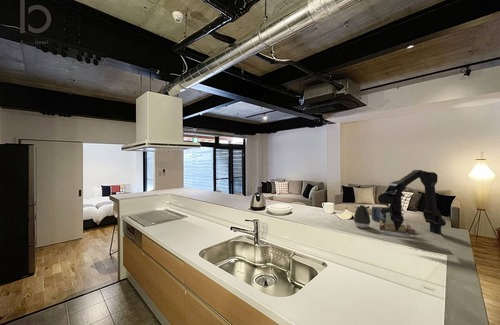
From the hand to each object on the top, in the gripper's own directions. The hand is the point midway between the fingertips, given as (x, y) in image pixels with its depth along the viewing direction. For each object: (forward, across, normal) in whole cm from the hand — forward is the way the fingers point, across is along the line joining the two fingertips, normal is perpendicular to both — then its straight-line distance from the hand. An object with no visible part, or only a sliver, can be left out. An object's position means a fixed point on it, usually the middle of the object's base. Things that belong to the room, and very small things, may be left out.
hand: (396, 228), depth 129 cm
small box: (+4, -30, -8) cm, 32 cm away
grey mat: (+4, 0, 0) cm, 4 cm away
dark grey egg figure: (+4, -8, -19) cm, 21 cm away
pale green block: (+4, -16, 0) cm, 16 cm away
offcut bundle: (+4, -8, 0) cm, 9 cm away
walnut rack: (+4, -14, 0) cm, 14 cm away
